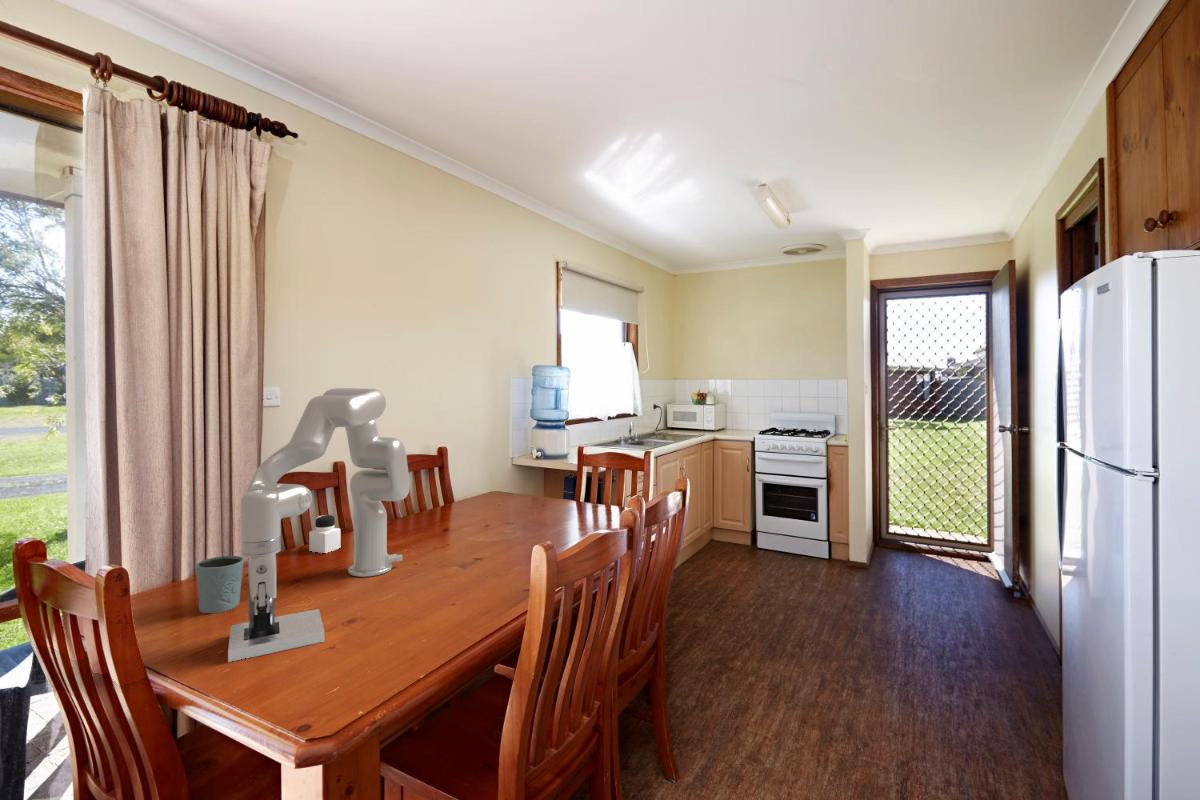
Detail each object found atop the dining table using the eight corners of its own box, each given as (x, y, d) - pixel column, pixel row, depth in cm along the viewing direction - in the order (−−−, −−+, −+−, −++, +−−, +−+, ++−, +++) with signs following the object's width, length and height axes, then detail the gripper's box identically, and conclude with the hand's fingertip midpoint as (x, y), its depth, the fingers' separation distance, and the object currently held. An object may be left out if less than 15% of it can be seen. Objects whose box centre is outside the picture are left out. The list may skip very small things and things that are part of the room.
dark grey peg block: (274, 628, 126) (274, 586, 126) (275, 637, 122) (275, 593, 122) (249, 633, 124) (248, 590, 123) (248, 642, 119) (248, 597, 119)
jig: (318, 618, 135) (318, 608, 135) (324, 641, 123) (324, 630, 123) (231, 635, 125) (231, 625, 125) (228, 662, 114) (228, 650, 113)
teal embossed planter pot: (193, 606, 142) (193, 560, 141) (239, 596, 149) (238, 552, 148) (200, 618, 134) (200, 570, 134) (248, 607, 142) (247, 561, 141)
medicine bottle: (341, 548, 193) (340, 514, 192) (324, 554, 186) (324, 519, 185) (325, 546, 195) (325, 513, 195) (308, 552, 188) (308, 517, 188)
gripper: (282, 553, 117) (282, 637, 117) (279, 534, 131) (280, 608, 132) (240, 559, 113) (241, 645, 113) (242, 539, 127) (243, 615, 128)
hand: (262, 625), depth 123 cm, fingers closed on dark grey peg block, 5 cm apart
